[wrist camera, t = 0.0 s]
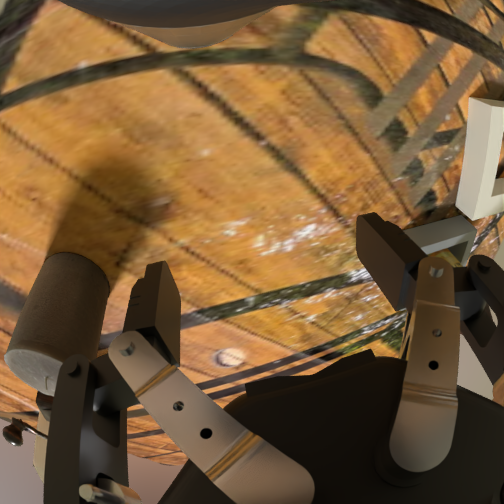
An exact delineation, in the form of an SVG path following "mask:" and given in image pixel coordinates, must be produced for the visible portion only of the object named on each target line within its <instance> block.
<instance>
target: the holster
mask: <svg viewBox="0 0 504 504" xmlns="http://www.w3.org/2000/svg"><path fill="white" fill-rule="evenodd" d="M403 231H404V232H405V234H407V235H408V236H409V237H410V239H412V240H413V241H414V242H415V243H416V244H417V245H418V246H419V247H420V248H421V249H422V250H423V251H424V252H425V253H426V254H430V253H433V252H436V251H439V250H442V249H445V248H448V249H449V251H450V252H451V253H452V254H453V255H454V256H455V257H456V259H457V260H458V261H459V262H460V263H461V265H462V266H463V267H465V266H466V263H467V260H468V257H469V254H470V252H471V249H472V246H473V243H474V239H475V236H476V233H477V229H476V228H475V227H474V226H473V225H472V224H471V223H470V222H468V221H467V220H466V219H465V218H464V217H463V216H462V215H459V216H455V217H452V218H448V219H444V220H440V221H437V222H433V223H429V224H425V225H422V226H418V227H414V228H410V229H406V230H403ZM405 309H406V308H404V309H402V310H405ZM402 310H400V311H402Z"/></svg>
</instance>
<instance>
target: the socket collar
mask: <svg viewBox="0 0 504 504" xmlns="http://www.w3.org/2000/svg"><path fill="white" fill-rule="evenodd" d="M503 132H504V101H498V100H491V99H483V98H474V97H469V106H468V122H467V133H466V143H465V151H464V159H463V166H462V172H461V178H460V184H459V189H458V194H457V199H456V204H455V206H456V207H457V208H458V209H460V210H461V211H462V212H463V213H464V214H465V215H466V216H468V217H469V218H470V219H471V220H472V221H473V220H477V219H480V218H483V217H487V216H490V215H493V214H496V213H500V212H503V211H504V178H499V179H495V177H496V172H497V167H498V162H499V156H500V150H501V143H502V136H503Z"/></svg>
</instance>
